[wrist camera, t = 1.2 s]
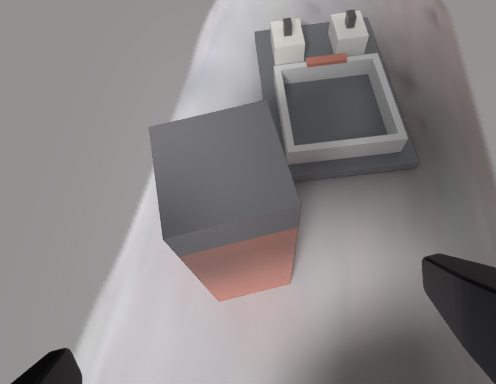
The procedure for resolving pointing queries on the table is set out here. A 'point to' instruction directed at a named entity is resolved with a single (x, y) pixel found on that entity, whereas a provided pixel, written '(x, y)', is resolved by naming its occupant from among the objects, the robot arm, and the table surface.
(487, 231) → the table surface
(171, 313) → the table surface
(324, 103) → the panel
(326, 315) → the table surface
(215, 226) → the cap
